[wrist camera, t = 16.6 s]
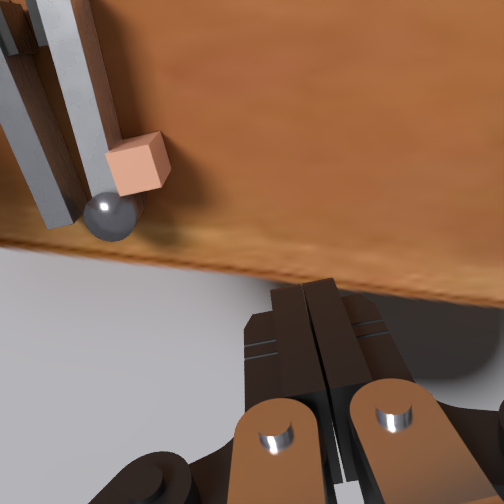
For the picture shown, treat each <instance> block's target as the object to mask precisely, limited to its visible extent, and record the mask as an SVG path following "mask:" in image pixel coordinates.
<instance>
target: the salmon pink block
mask: <svg viewBox="0 0 504 504" xmlns="http://www.w3.org/2000/svg"><path fill="white" fill-rule="evenodd" d="M105 156H106V159H107V162H108V165H109V167H110V170H111V173H112V176H113V178H114V181H115V184H116V187H117V190H118V192H119V195H120V196H125V195H129V194H134V193H138V192H143V191H147V190H152V189H156V188H161V187H162V186H163V184H164V182H165V180H166V178H167V177H168V175H169V173H170V171H171V165H170V162H169V158H168V155H167V152H166V148H165V145H164V142H163V138H162V135H161V132H160V131H158V132H154V133H149V134H145V135H141V136H136V137H132V138H127V139H123V140H121V141H120V142H119V143H118V144H117V145H115V146H114V147H113V148H112V149H111V150H109V151H108V152H107V153H106V154H105Z"/></svg>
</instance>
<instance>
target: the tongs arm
mask: <svg viewBox="0 0 504 504" xmlns="http://www.w3.org/2000/svg"><path fill="white" fill-rule="evenodd" d="M25 1H26V5H27V8H28V11H29V15H30V18H31V22H32V25H33V29H34V32H35V35H36V39H37V42H38V46H49V47H50V51H51V54H52V58H53V61H54V65H55V68H56V72H57V75H58V79H59V82H60V86H61V89H62V93H63V96H64V100H65V103H66V107H67V110H68V114H69V117H70V121H71V124H72V128H73V132H74V135H75V139H76V142H77V146H78V149H79V153H80V156H81V160H82V163H83V167H84V170H85V174H86V177H87V181H88V184H89V188H90V191H91V195H92V199H91V200H90V201H89V202H88V203H87V205H86V207H85V209H84V221H85V224H86V226H87V228H88V229H89V231H90V232H91V233H92V234H93V235H95V236H96V237H98V238H99V239H102V240H105V241H111V242H113V241H120V240H122V239H124V238H126V237H127V236H128V235H129V234H130V233H131V232H132V230H133V228H134V227H135V225H136V223H137V221H138V220H139V218H140V216H141V214H142V213H143V211H144V209H145V207H146V202H147V198H146V194H145V191H143V192H138V193H134V194H129V195H125V196H120V195H119V192H118V190H117V187H116V184H115V181H114V178H113V176H112V173H111V170H110V167H109V165H108V162H107V159H106V156H105V154H106V153H107V152H108V151H109V150H111V149H112V148H113V147H114V146H115V145H117V144H118V143H119V142H120V141H121V140H123V139H122V135H121V131H120V127H119V123H118V119H117V115H116V110H115V106H114V102H113V98H112V94H111V90H110V85H109V81H108V77H107V73H106V69H105V65H104V61H103V56H102V52H101V48H100V44H99V40H98V36H97V31H96V27H95V23H94V19H93V15H92V11H91V7H90V2H89V0H25Z"/></svg>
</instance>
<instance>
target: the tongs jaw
mask: <svg viewBox="0 0 504 504" xmlns="http://www.w3.org/2000/svg"><path fill="white" fill-rule="evenodd" d="M35 53H39V50H38V48H37V45H36V43H35V40H34V37H33V35H32V32H31V30H30V27H29V24H28V22H27V19H26V17H25V14H24V11H23V9H22V6H21V4H15V3H10V1H9V0H0V123H1V126H2V128H3V130H4V132H5V135H6V137H7V139H8V141H9V144H10V146H11V148H12V150H13V153H14V155H15V157H16V159H17V162H18V164H19V166H20V168H21V171H22V173H23V175H24V177H25V180H26V182H27V184H28V186H29V189H30V191H31V193H32V195H33V198H34V200H35V202H36V204H37V207H38V209H39V211H40V213H41V215H42V218H43V220H44V222H45V224H46V227H47V229H52V228H57V227H62V226H66V225H71V224H74V223H75V222H76V221H77V220H78V219H79V217H80V216H81V215H82V214H83V213H84V209H85V207H86V205H87V203H88V199H87V197H86V194H85V192H84V189H83V187H82V184H81V182H80V179H79V177H78V174H77V171H76V169H75V166H74V164H73V161H72V159H71V156H70V154H69V151H68V148H67V146H66V143H65V141H64V138H63V136H62V133H61V131H60V128H59V126H58V123H57V120H56V118H55V115H54V113H53V110H52V108H51V105H50V103H49V100H48V97H47V95H46V92H45V90H44V87H43V85H42V82H41V80H40V77H39V74H38V72H37V69H36V67H35V64H34V62H33V59H32V57H31V54H35Z"/></svg>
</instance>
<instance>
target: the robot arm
mask: <svg viewBox="0 0 504 504" xmlns="http://www.w3.org/2000/svg"><path fill="white" fill-rule="evenodd" d="M303 290H304V295H305V301H306V306H307V311H308V315H307V311H306V307H305V303H304V298H303V294H302V290H301V286H300V284H298V285H293V286H287V287H282V288H277V289H272V290H270V293H271V301H272V309H273V311H268V312H264V313H258V314H253V315H252V316H251V318H250V320H249V321H248V323H247V325H246V327H245V328H244V347H245V348H244V359H245V361H244V371H245V372H244V374H245V414H244V415H243V416H242V417H241V419H240V420H239V422H238V424H237V426H236V429H235V433H234V437H233V438H232V439H231V440H230V441H229V442H228V443H227V444H226V445H225V446H223V447H222V448H220V449H219V450H217V451H215V452H213V453H212V454H209V455H208V456H205V457H203V458H201V459H199V460H197V461H195V462H193V463H191V464H188V463H187V462H186V461H185V460H184V458H182V457H181V456H179V455H177V454H175V453H172V452H163V451H161V452H153V453H150V454H146V455H144V456H141V457H139V458H138V459H136V460H134V461H132V462H131V463H130V464H128V465H127V466H126V467H124V468H123V469H122V470H121V471H120V472H119V473H118V474H117V475H116V476H115V477H114V478H113V479H112V480H111V481H110V482H109V483H108V484H107V485H106V486H105V487H104V488H103V489H102V490H101V491H100V492H99V493H98V494H97V495H96V496H95V497H94V498H93V499H92V500H91V501H90V502H89V503H88V504H337V499H336V495H335V489H334V484H339V483H343V479H342V474H341V468H340V463H339V458H338V452H337V447H336V442H335V436H334V431H335V435H336V439H337V444H338V448H339V452H340V456H341V460H342V464H343V469H344V473H345V477H346V481H347V482H350V481H356V480H358V481H359V484H360V488H361V492H362V495H363V499H364V504H504V400H503V402H502V404H501V405H500V409H499V411H488V410H477V409H466V408H458V407H454V406H450V405H447V404H444V403H441V402H439V401H437V400H435V398H434V397H433V396H432V395H431V393H429V392H428V391H427V390H426V389H424V388H423V387H421V386H420V385H418V384H416V383H415V381H414V380H413V378H412V376H411V374H410V372H409V370H408V368H407V366H406V364H405V362H404V360H403V358H402V356H401V354H400V352H399V350H398V348H397V346H396V344H395V342H394V341H393V339H392V337H391V335H390V333H389V332H388V329H387V327H386V325H385V323H384V321H383V320H382V317H381V315H380V313H379V311H378V309H377V307H376V305H375V304H374V303H372V302H371V301H370V300H368V299H367V298H365V297H364V296H362V295H361V294H355V295H350V296H345V297H340V294H339V292H338V289H337V287H336V284H335V282H334V279H333V278H327V279H322V280H317V281H312V282H307V283H303ZM308 317H309V319H308ZM309 322H310V323H309ZM331 419H332V420H331ZM332 423H333V425H332ZM333 427H334V430H333Z"/></svg>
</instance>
